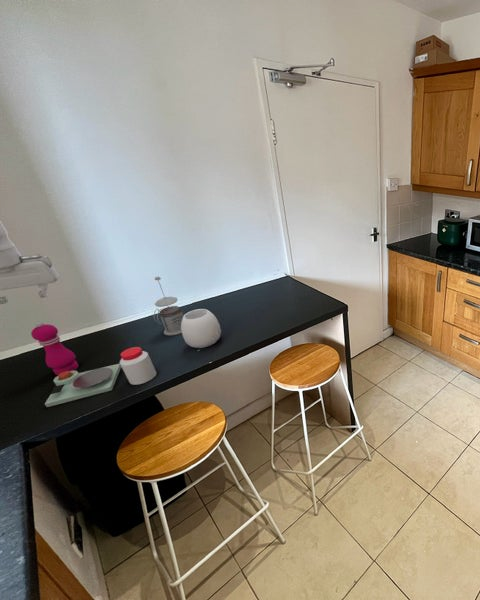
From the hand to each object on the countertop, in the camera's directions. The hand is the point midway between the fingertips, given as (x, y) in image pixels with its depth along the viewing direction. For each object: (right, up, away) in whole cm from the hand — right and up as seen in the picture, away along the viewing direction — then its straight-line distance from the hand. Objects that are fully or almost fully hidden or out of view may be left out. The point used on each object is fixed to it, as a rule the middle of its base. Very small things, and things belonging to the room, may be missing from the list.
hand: (24, 299), depth 100 cm
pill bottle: (+30, -27, +9) cm, 42 cm away
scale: (+14, -29, +6) cm, 33 cm away
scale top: (+16, -27, +3) cm, 31 cm away
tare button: (+8, -26, +5) cm, 28 cm away
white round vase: (+41, -18, +28) cm, 53 cm away
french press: (+22, -13, +37) cm, 45 cm away
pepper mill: (0, -25, +13) cm, 29 cm away
